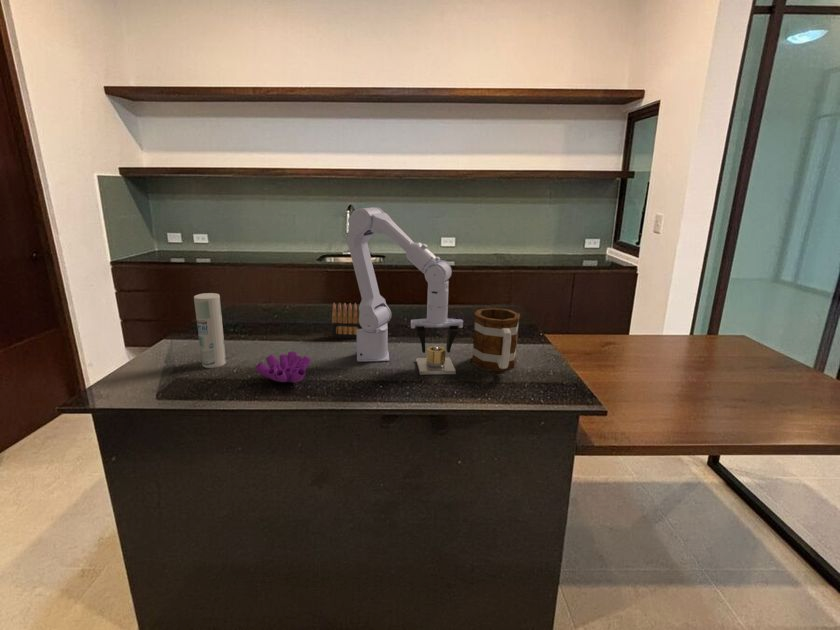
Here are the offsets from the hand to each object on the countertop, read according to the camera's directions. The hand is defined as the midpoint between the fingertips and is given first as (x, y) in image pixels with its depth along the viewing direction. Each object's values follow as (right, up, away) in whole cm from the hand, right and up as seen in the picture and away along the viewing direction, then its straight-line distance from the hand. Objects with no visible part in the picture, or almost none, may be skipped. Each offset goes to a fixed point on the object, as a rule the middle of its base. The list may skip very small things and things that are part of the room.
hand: (435, 351), depth 134 cm
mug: (+18, -5, +3) cm, 19 cm away
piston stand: (0, -5, +1) cm, 5 cm away
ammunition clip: (-29, +3, +25) cm, 39 cm away
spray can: (-63, -4, 0) cm, 63 cm away
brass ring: (0, -3, +1) cm, 3 cm away
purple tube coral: (-40, -7, -9) cm, 42 cm away
